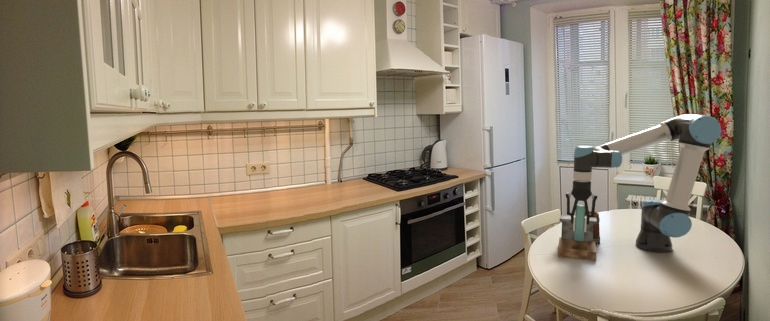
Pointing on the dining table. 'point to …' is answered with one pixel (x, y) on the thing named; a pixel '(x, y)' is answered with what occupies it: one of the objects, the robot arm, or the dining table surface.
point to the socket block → (573, 247)
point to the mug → (595, 228)
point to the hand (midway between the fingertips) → (579, 230)
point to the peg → (579, 223)
